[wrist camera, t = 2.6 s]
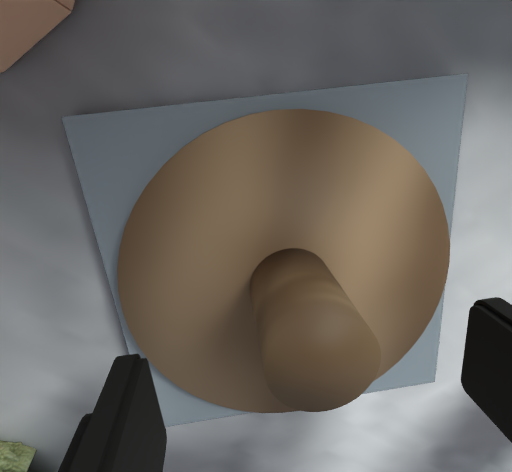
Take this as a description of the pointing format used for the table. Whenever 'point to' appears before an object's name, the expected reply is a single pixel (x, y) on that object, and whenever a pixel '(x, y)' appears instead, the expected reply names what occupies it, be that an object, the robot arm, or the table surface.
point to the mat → (220, 111)
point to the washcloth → (15, 457)
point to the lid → (283, 261)
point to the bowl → (27, 25)
